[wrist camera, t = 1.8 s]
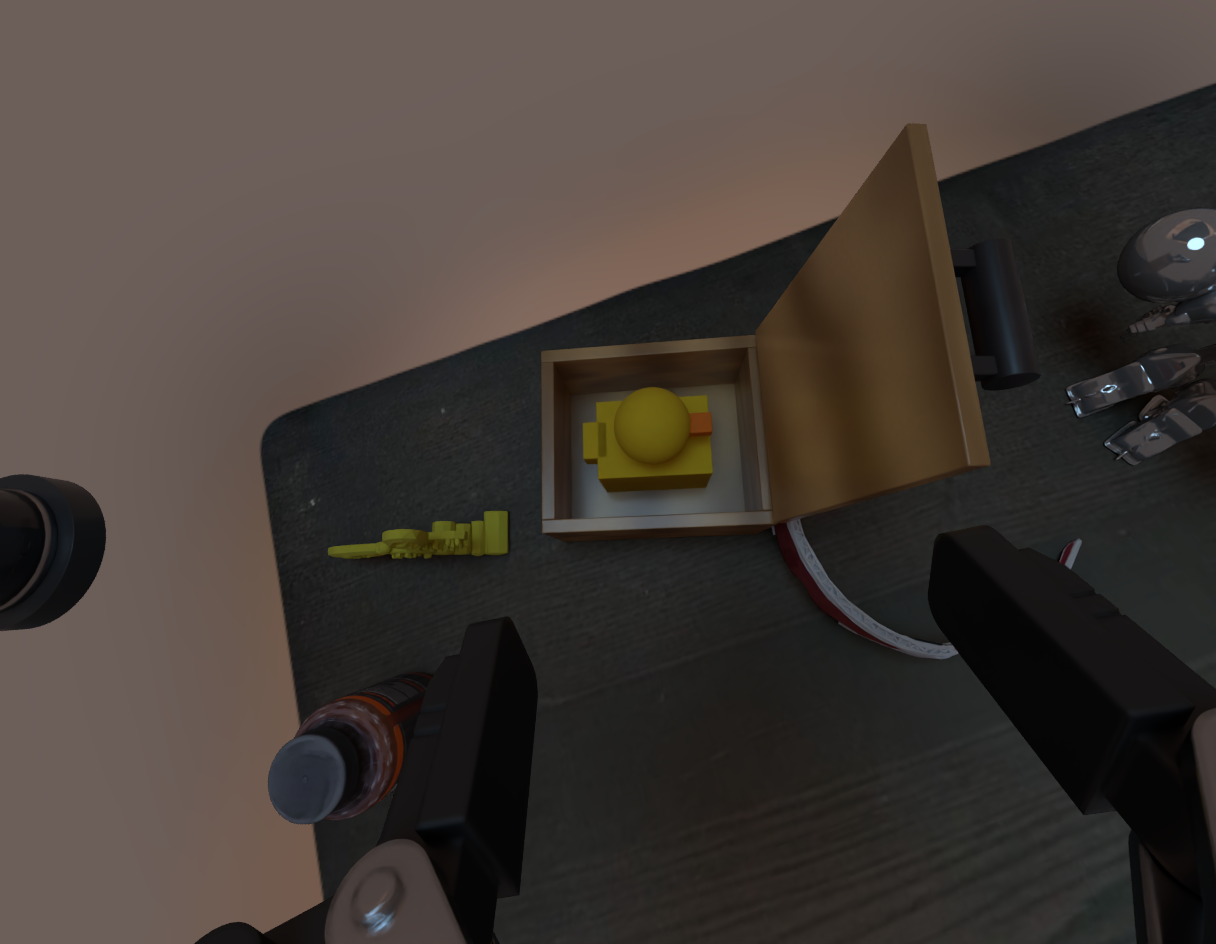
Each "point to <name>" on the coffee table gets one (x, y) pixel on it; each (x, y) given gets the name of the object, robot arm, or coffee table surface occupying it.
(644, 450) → the duck
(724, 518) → the chest
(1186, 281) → the robot toy
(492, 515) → the decorative insect
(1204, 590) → the coffee table surface
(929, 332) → the lid
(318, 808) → the supplement bottle
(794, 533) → the sunglasses
